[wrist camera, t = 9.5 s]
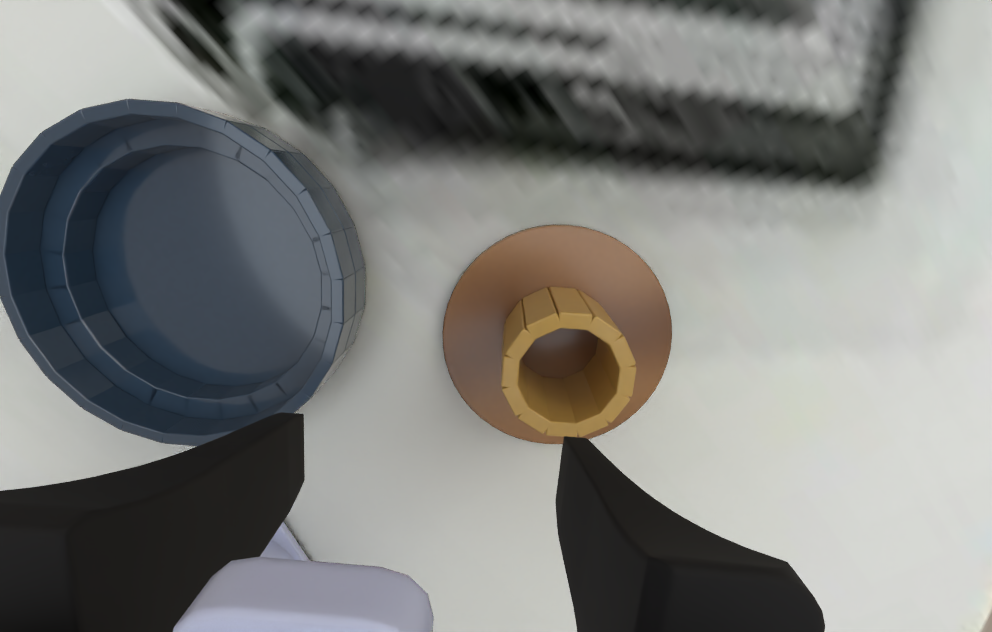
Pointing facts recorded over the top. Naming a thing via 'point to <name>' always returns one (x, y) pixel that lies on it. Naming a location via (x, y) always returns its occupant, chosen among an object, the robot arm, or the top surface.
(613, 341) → the brass ring
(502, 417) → the coaster
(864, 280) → the top surface
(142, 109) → the bowl
